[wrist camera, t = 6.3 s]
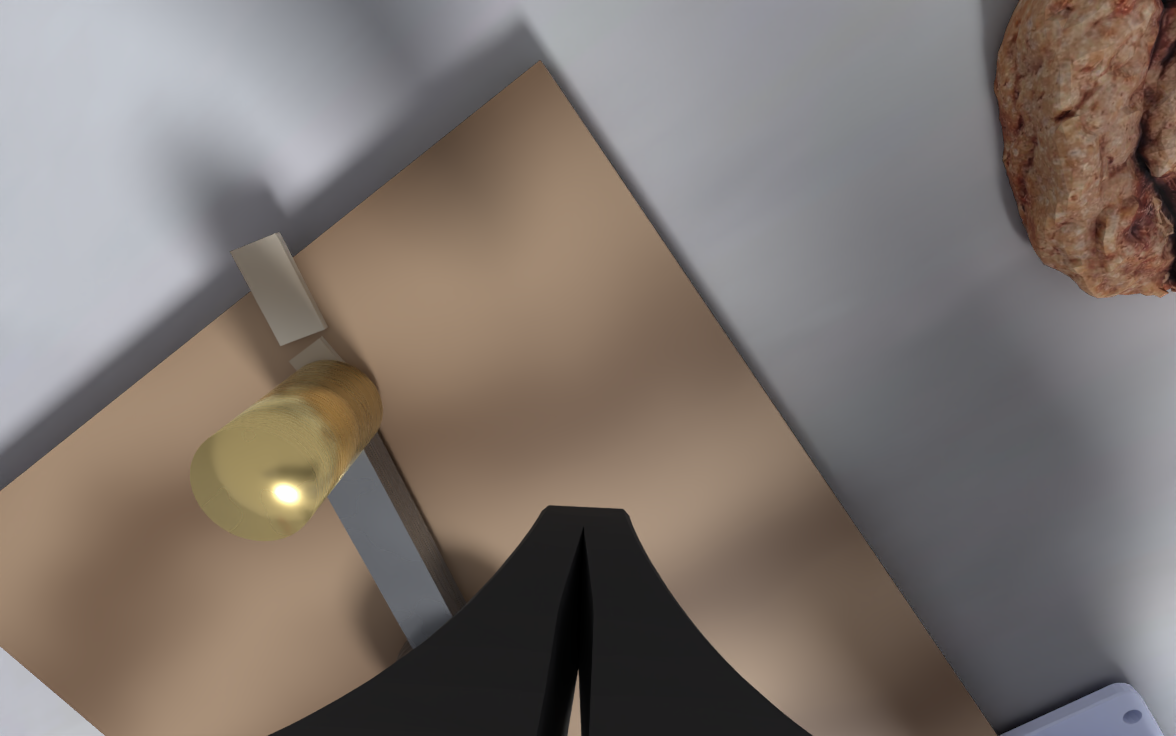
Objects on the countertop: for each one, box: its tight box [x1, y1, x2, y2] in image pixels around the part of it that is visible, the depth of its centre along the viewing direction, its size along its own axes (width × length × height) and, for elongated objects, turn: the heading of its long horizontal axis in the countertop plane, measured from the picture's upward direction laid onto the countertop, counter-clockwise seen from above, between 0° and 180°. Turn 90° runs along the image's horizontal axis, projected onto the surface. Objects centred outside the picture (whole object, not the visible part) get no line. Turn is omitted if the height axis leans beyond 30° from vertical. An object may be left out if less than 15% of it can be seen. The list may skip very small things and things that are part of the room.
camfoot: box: [190, 360, 568, 736], centre depth 16 cm, size 13×5×4 cm, turn 21°
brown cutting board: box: [0, 61, 997, 736], centre depth 20 cm, size 25×22×1 cm
